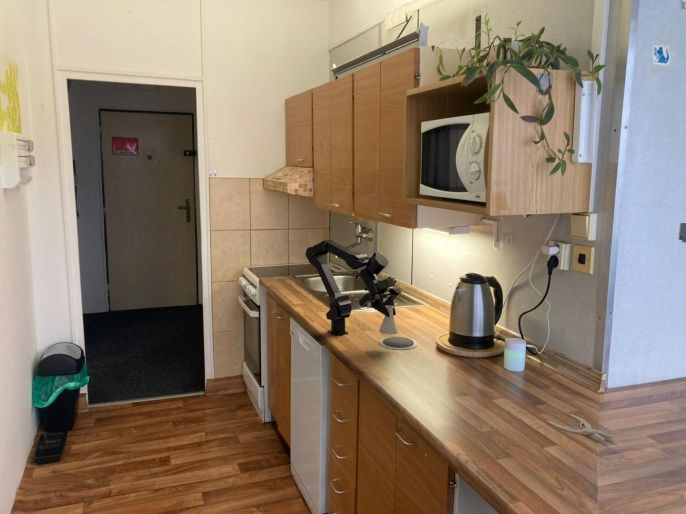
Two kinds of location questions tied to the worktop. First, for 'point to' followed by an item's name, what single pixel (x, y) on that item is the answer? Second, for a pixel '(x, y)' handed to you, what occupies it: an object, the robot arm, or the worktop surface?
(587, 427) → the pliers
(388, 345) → the coaster
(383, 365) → the worktop surface
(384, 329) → the flask
